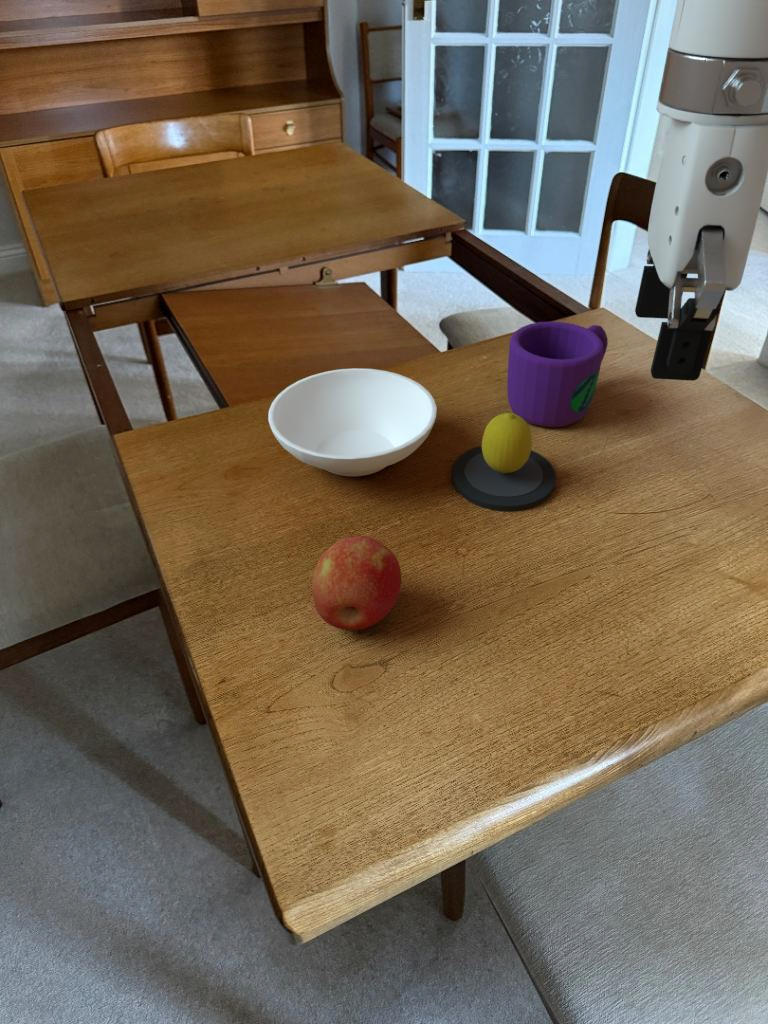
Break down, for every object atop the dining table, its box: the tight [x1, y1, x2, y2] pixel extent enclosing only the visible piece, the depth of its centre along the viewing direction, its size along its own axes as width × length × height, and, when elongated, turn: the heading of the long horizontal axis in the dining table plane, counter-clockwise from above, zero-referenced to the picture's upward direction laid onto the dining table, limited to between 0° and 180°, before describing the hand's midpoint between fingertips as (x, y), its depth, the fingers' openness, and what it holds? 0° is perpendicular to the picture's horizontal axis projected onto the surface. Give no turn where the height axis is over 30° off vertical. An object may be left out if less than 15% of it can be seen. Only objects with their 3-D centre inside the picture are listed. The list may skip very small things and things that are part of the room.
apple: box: [311, 535, 402, 631], centre depth 68 cm, size 8×8×8 cm
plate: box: [451, 445, 557, 512], centre depth 86 cm, size 12×12×1 cm
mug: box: [506, 321, 609, 428], centre depth 96 cm, size 17×11×10 cm, turn 133°
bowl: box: [267, 367, 438, 477], centre depth 88 cm, size 20×20×7 cm
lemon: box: [481, 412, 533, 474], centre depth 83 cm, size 6×6×8 cm
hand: (663, 345), depth 55 cm, fingers open, 9 cm apart
